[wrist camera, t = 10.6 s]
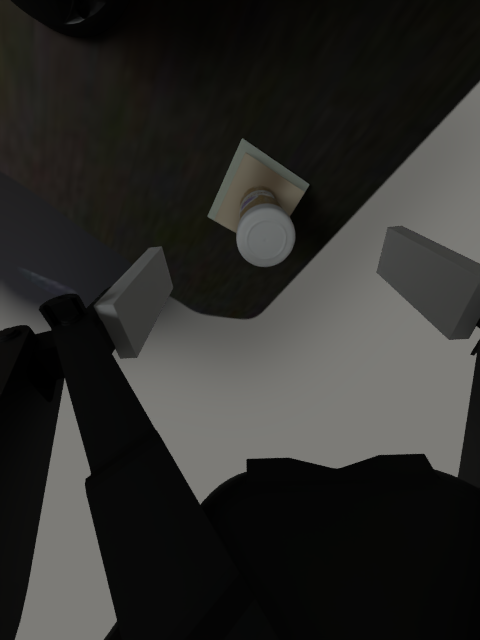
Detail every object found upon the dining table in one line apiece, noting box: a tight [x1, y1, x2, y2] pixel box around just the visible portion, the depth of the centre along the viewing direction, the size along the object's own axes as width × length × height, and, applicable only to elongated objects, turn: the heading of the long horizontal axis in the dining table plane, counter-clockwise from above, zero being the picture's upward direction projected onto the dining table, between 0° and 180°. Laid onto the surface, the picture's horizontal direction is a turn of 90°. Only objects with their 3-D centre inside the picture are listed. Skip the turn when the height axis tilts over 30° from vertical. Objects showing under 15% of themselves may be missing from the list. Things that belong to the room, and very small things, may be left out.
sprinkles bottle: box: [237, 186, 295, 267], centre depth 24 cm, size 5×5×14 cm
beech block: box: [214, 152, 305, 233], centre depth 31 cm, size 8×8×4 cm
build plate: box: [208, 138, 310, 220], centre depth 33 cm, size 10×10×1 cm
